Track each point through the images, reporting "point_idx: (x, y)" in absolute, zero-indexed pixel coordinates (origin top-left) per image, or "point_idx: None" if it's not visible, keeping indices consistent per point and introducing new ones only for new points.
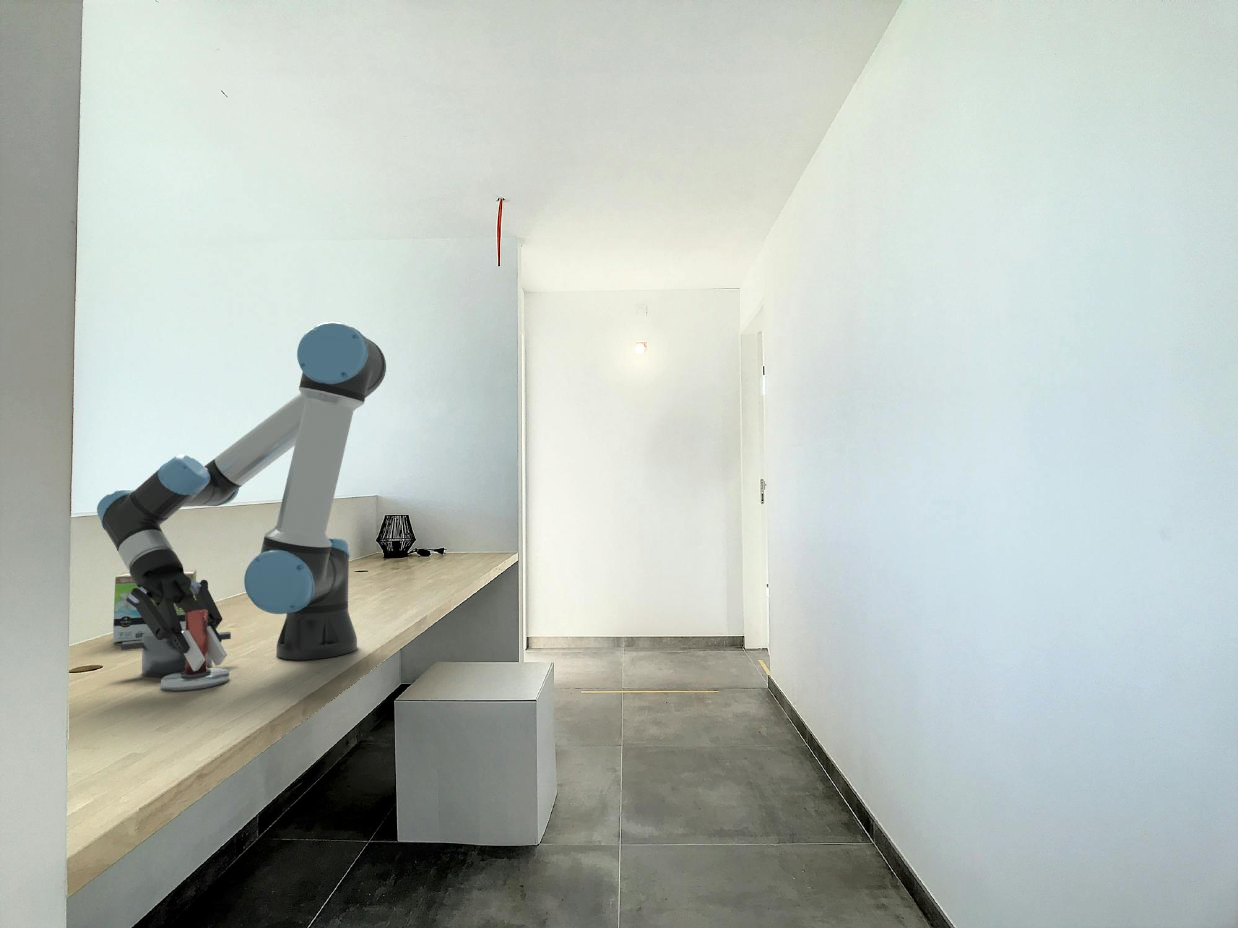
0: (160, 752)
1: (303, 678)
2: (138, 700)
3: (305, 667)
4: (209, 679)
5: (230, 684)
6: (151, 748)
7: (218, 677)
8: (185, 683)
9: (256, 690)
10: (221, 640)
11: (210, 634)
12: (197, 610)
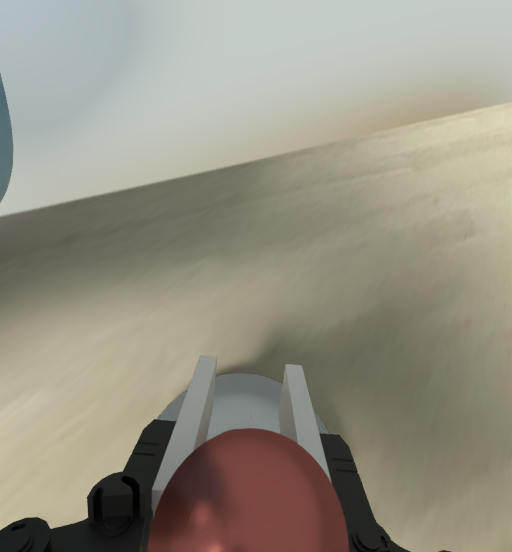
0: (498, 162)
1: (128, 234)
2: (428, 466)
3: (12, 302)
4: (262, 378)
5: (217, 355)
6: (502, 180)
7: (235, 373)
8: (317, 416)
9: (240, 255)
10: (152, 422)
11: (195, 440)
12: (235, 547)
